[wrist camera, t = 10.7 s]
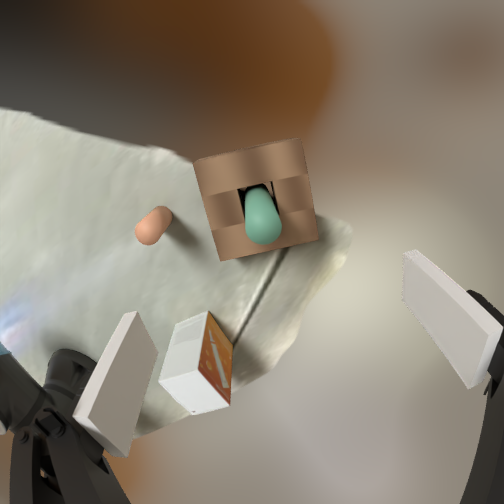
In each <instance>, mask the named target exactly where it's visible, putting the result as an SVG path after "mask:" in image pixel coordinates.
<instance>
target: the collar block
mask: <svg viewBox="0 0 504 504" xmlns="http://www.w3.org/2000/svg"><path fill="white" fill-rule="evenodd" d="M193 167H194V170H195V174H196V178H197V181H198V185H199V189H200V192H201V196H202V200H203V203H204V207H205V210H206V214H207V217H208V221H209V224H210V228H211V231H212V235H213V238H214V242H215V245H216V248H217V252H218V255H219V258H220V261H225V260H230V259H234V258H239V257H243V256H248V255H252V254H257V253H261V252H266V251H271V250H275V249H280V248H284V247H289V246H293V245H298V244H302V243H307V242H311V241H316V240H319V236H318V230H317V224H316V217H315V211H314V206H313V199H312V194H311V189H310V183H309V177H308V172H307V167H306V162H305V156H304V152H303V147H302V142H301V139H299V138H290V139H285V140H280V141H275V142H271V143H265V144H260V145H256V146H251V147H247V148H243V149H238V150H234V151H230V152H226V153H222V154H218V155H214V156H210V157H206V158H203V159H199V160H197V161H196V162H194V163H193ZM265 182H271V186H272V191H273V195H274V200H275V205H274V206H275V208H276V211H277V213H278V216H279V218H280V221H281V224H282V230H281V233H280V235H279V237H278V238H277V239H276V240H275V241H274V242H272V243H270V244H265V245H261V244H257V243H255V242H253V241H251V240H250V239H249V237H248V236H247V234H246V230H245V208H244V204H243V200H242V196H241V192H240V188H243V187H248V186H252V185H256V184H261V183H265Z"/></svg>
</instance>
